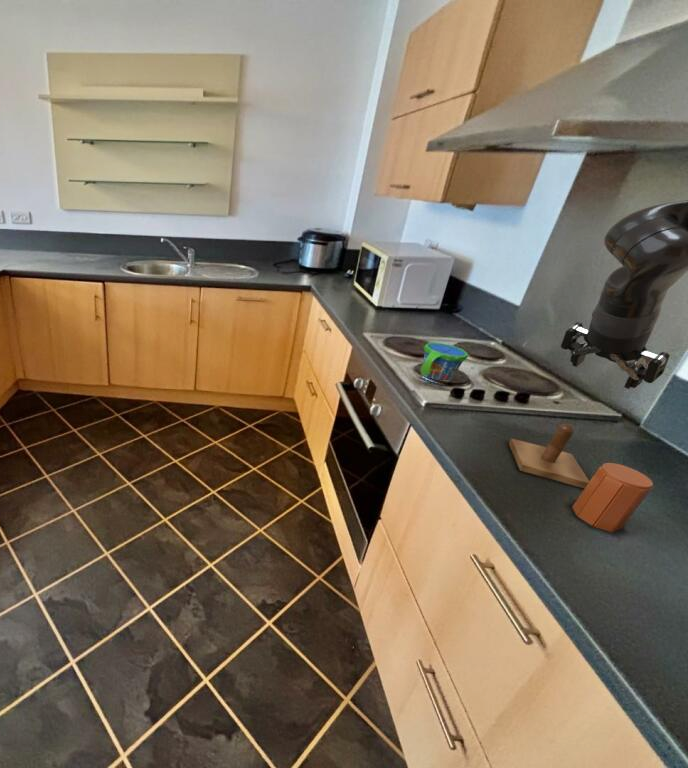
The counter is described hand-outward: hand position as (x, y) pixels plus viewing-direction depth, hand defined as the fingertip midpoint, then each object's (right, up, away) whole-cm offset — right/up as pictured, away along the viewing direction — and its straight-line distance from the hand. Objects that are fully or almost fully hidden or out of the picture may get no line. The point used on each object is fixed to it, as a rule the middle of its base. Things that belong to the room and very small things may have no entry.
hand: (602, 373), depth 81 cm
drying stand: (-5, -19, +7) cm, 21 cm away
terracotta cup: (-8, -26, -7) cm, 28 cm away
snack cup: (-7, -1, +42) cm, 42 cm away
